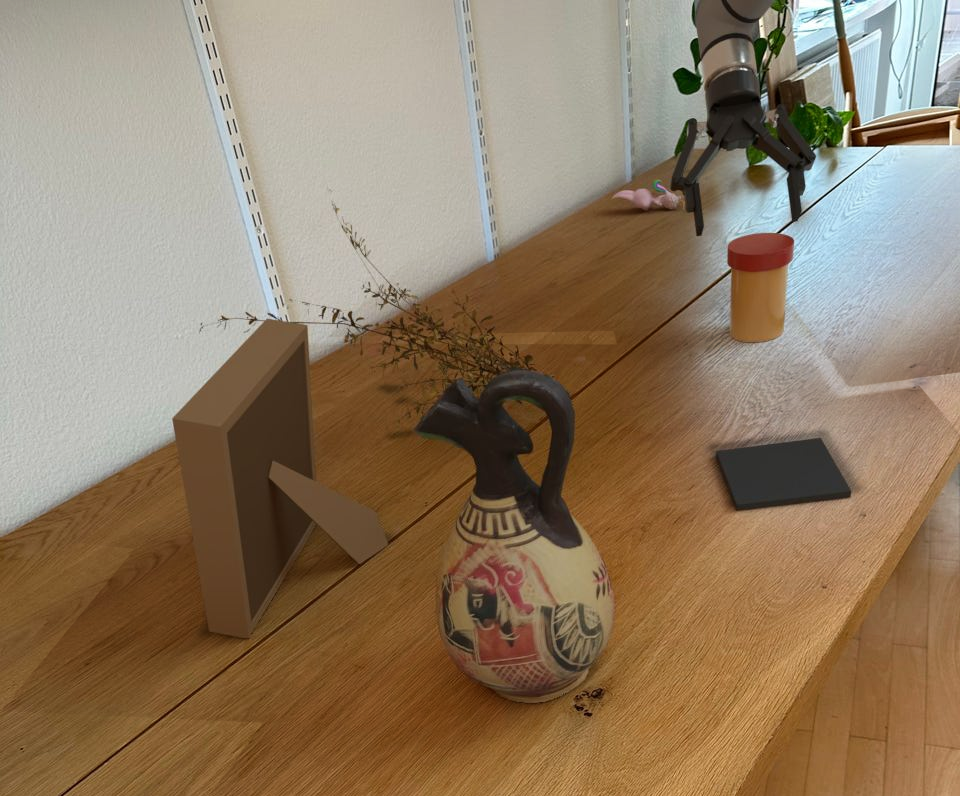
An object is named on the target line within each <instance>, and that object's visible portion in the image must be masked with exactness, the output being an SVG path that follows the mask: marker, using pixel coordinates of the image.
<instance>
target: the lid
mask: <svg viewBox="0 0 960 796" xmlns="http://www.w3.org/2000/svg"><path fill="white" fill-rule="evenodd" d="M794 250H795V239H794V238H793V237H792V236H791V235H789V234H785V233H780V232H757V233H751V234H746V235H742V236H739V237H737V238H734V239H733V240H731V241H729V243H728V244H727V256H726V257H727V258H726V259H727V260H726V264H727V266H728V267H729V268H730V269H731V268H733V269H736V270H740V271H749V272H757V271H767V270H773V269H777V268H780V267H783V266H785V265H787V264H788V265H789V264H790V263H792V262H793V260H794V252H795V251H794Z"/></svg>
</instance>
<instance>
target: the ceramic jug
mask: <svg viewBox="0 0 960 796" xmlns="http://www.w3.org/2000/svg"><path fill="white" fill-rule="evenodd" d="M526 369H527V368H526ZM526 369H525V368H520V369H512V370H509V371H505V370H504V371H502V372H503V373H501V374H500V375H498V376H493V377H491V378H492V379H491V380H488V381H489V383H488V384H487V385H486V384H485V385H486V387H485V388H484V390H482V393H481V392H480V394H479V397H480V398H479V400H478V399H477V398H476V397H477V396H476V395H475V393H474V392H473V391H472V388H471V387H470V388H469V387H468V386H467V382H464V380H465V379H464V378H463V379H462V377H458V378H457V379H455V381H453V383H452V384H451V383H450V385H448V387H447V388H446V389H445V388H444V390H445V392H444V393H442V394H440V395H441V396H439V398H437V400H436V401H434V402H435V403H433V404H432V406H430V407H429V408H428V410H427V411H426V412H425V413H423V414H424V416H423V417H422V416H421V417H422V419H421V420H420V419H419V420H418V422H417V424H416V425H415V426H414V427H413V433H414V435H417V436H418V437H420V438H423V439H428V440H435V441H443V442H445V443H448V444H450V445H452V446H454V447H456V448H459V449H463V451H465V452H466V453H468V454H469V455H470V456H471V458H472V460H473V462H474V465H475V484H474V486H473V487H472V491H471V493H470V494H469V495H468V498H467V500H465V503H464V504H463V506H462V508H461V510H460V511H459V514H457V516H456V520H455V522H454V524H453V526H452V529H451V531H450V532H449V535H448V537H447V539H446V541H445V543H444V545H443V547H442V550H441V556H440V560H439V563H438V565H437V571H436V577H435V618H436V622H437V627H438V631H439V636H440V638H441V641H442V643H443V646H444V648H445V650H446V652H447V653H448V655H449V657H450V658H451V659H452V661H453V663H454V664H455V666H456V668H457V669H459V670H460V671H461V672H462V674H465V676H466V677H467V678H469V679H471V680H472V681H473V682H474V683H477V684H480V685H482V686H484V687H486V688H488V689H491V690H492V689H493V690H494V691H496V692H497V693H498V694H499V695H501V696H502V697H505V698H507V699H506V700H508V699H509V700H508V701H511V700H514V701H519V702H524V703H536V702H543V703H546V701H547V702H549V700H550V701H552V700H555V699H557V697H558V698H560V697H562V696H564V695H566V694H567V693H569V692H570V691H572V690H574V689H575V688H577V687H578V686H579V685H581V684H582V683H583V682H584V681H585V680H586V678H587V676H588V675H589V673H590V672H589V669H590V668H591V667H592V666H593V665H594V664H595V662H596V661H597V660H598V659H599V657H600V656H601V655H602V654H603V653H604V651H605V650H606V649H607V646H608V644H609V641H610V638H611V636H612V633H613V627H614V619H615V611H616V602H615V596H614V590H613V587H612V583H611V582H612V581H611V578H610V573H609V570H608V568H607V564H606V562H605V560H604V558H603V557H602V555H601V553H600V551H599V550H598V547H597V546H596V544H595V543H594V541H593V540H592V538H591V536H590V535H589V534H588V532H587V531H586V530H585V529H584V527H583V525H581V524H580V522H579V521H578V520H577V519H576V518H575V517H574V516H573V515H572V514H571V513H570V509H569V507H568V504H567V503H566V502H565V500H564V498H563V497H562V492H563V485H564V482H565V477H566V474H567V470H568V469H567V468H568V465H569V463H570V459H571V455H572V452H573V447H574V443H575V433H576V431H575V430H576V429H575V428H576V412H575V408H574V405H573V402H572V398H571V395H570V393H569V391H568V390H567V389H566V388H565V386H563V384H561V382H559V380H558V379H555V378H552V376H551V375H548V374H547V373H544V374H543V373H542V372H540V371H534V370H531V371H529V369H528V370H526ZM514 400H519V401H520V400H521V402H526V403H529V404H532V405H534V406H536V407H537V408H538V409H540V410H542V411H543V412H544V413H545V414H546V416H547V417H548V421H549V426H550V429H551V436H550V437H551V438H550V443H549V449H548V456H547V463H546V466H545V468H544V471H543V474H542V476H541V477H542V478H541V482H540V485H539V483H538V482H537V481H536V480H533V479H532V478H531V476H530V475H529V474H528V473H527V471H526V470H525V469H524V467H523V465H522V464H521V461H520V460H519V459H520V458H519V456H520V455H530V454H531V453H533V451H534V443H533V440H532V438H531V435H530V434H529V433H528V432H527V431H526V429H524V427H522V426H521V425H520V424H519V423H518V422H517V421H516V420H515V418H513V417H512V416H511V415H510V413H509V412H508V411H507V410H506V409H505V407H504V406H503V404H505V403H506V402H511V401H512V402H513V401H514ZM493 690H492V691H493ZM494 691H493V692H494ZM497 693H496V694H497ZM565 693H566V694H565ZM498 694H497V695H498ZM563 694H564V695H563ZM499 695H498V696H499ZM501 696H500V697H501ZM559 696H560V697H559ZM502 697H501V698H502ZM505 698H504V699H505ZM554 698H555V699H554ZM524 703H523V704H524Z"/></svg>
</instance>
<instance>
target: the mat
mask: <svg viewBox="0 0 960 796" xmlns="http://www.w3.org/2000/svg"><path fill="white" fill-rule="evenodd" d="M715 457H716V461H717V463H718V465H719V468H720V471H721V473H722V476H723V478H724V481H725V484H726V487H727V489H728V492H729V495H730V497H731V501H732V503H733V505H734V508H735V510H736V511H737V512H738V511H746V510H753V509H762V508H770V507H780V506H787V505H797V504H804V503H814V502H823V501H830V500H839V499H847V498H851V497H852V489H851V488H850V486H849V484H848V483H847V481H846V479H845V477H844V476H843V474H842V472H841V470H840V469H839V467H838V464H837V463H836V461H835V460H834V458H833V456H832V455H831V453H830V451H829V450H828V448H827V446H826V445H825V443H824V441H823V439H822V437H815V438H807V439H801V440H799V439H798V440H792V441H791V440H790V441H784V442H775V443H768V444H759V445H751V446H744V447H736V448H727V449H719V450H715Z"/></svg>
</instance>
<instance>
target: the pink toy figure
mask: <svg viewBox="0 0 960 796" xmlns="http://www.w3.org/2000/svg"><path fill="white" fill-rule="evenodd" d="M661 182H662V180H661V179H655V180H654V181H653V183H652V187H653V189H654V191H655V192H659V193H664V194H663V195H659V196H657V197H653V193H652V192H651V191H650V190H649V189H648V188H637V189H636V190H635V191H634V190H631V189H630V190H629V189H625V190H620V191H618V192H617V193H615V194H614V195H613V196H612V198H611V200H615V199H624V200H626V201H628V202H631V203H632V205H633V206H634V207H635V208H639V209H642V211H646V212H647V211H648V210H649V209H651V208H652V205H655V206H656V207H658V208H663V207H664V208H665V209H668V210H670V211H673V210H674V211H675V210H676V209H677V208H678V207H679V205H680V203H681V204H682V209H683V210H685V208H686V207H685V198H684V195H683V194H681V195H679V196H678V195H676V194H675V193H673V192H669V191H668V190H667V189H666V187H664V186H663V185H660V183H661Z"/></svg>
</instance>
